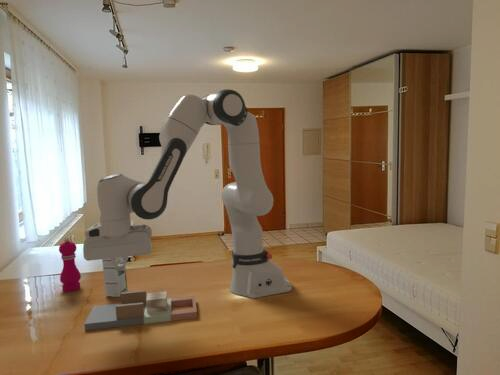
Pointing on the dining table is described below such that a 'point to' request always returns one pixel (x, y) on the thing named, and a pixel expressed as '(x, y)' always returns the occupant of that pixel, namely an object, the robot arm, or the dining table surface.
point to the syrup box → (114, 278)
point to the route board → (137, 311)
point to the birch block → (156, 301)
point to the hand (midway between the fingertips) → (120, 270)
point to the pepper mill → (69, 267)
